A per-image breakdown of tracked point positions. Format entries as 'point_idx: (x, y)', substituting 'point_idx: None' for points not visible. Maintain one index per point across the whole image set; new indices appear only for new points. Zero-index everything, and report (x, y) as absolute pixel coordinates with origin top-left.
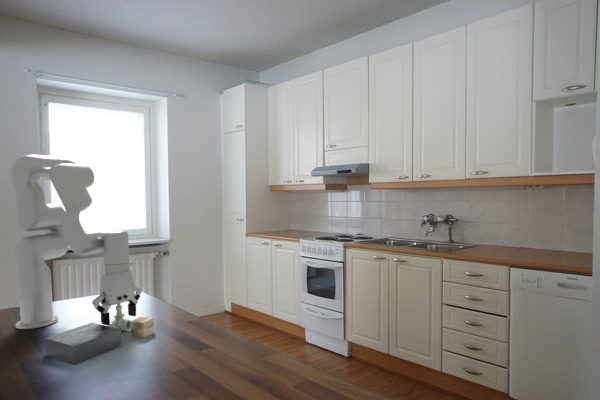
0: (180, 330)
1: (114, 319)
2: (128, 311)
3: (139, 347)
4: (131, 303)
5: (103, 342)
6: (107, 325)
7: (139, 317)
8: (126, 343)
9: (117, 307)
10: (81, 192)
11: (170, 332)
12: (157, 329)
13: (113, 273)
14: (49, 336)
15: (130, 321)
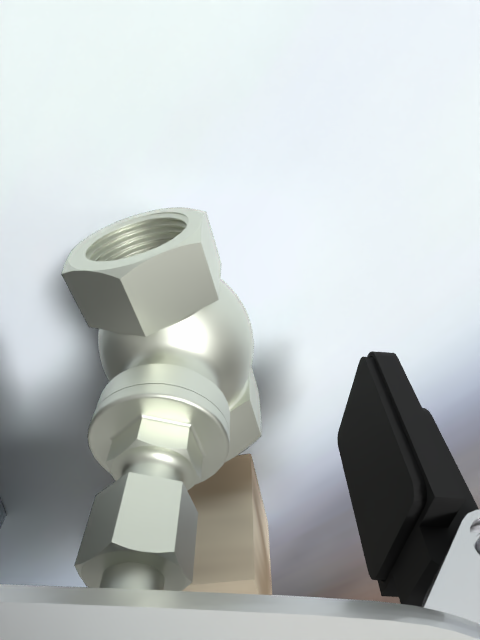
0: (345, 594)
1: (139, 332)
2: (375, 392)
3: (62, 580)
4: (405, 572)
5: None
6: (69, 255)
7: (234, 583)
8: (50, 510)
9: (93, 571)
10: None
11: (301, 577)
12: (326, 507)
13: None
14: None
15: (243, 441)
